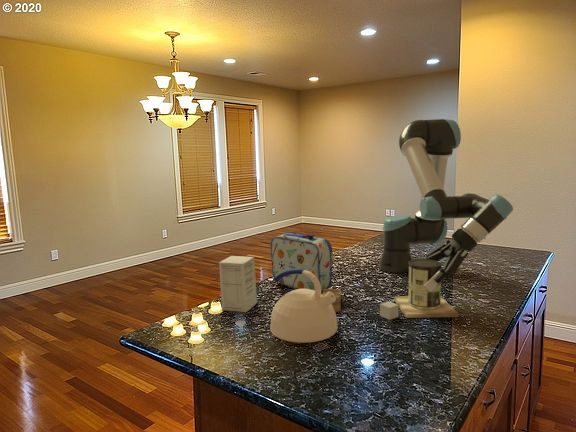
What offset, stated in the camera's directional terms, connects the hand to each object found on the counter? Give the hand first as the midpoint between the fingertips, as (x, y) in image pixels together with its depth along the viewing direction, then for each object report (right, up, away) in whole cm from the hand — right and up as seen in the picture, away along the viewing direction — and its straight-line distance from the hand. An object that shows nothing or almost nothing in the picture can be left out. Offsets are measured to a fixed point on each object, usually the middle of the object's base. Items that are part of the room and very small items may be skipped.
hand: (420, 281), depth 133 cm
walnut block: (-29, -10, +2) cm, 31 cm away
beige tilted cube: (-12, -10, -5) cm, 16 cm away
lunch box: (-38, -7, +25) cm, 46 cm away
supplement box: (-60, -10, +7) cm, 61 cm away
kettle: (-39, -12, -11) cm, 42 cm away
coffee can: (+2, -8, +1) cm, 8 cm away
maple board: (+2, -9, +1) cm, 9 cm away
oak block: (-28, -9, +9) cm, 31 cm away
